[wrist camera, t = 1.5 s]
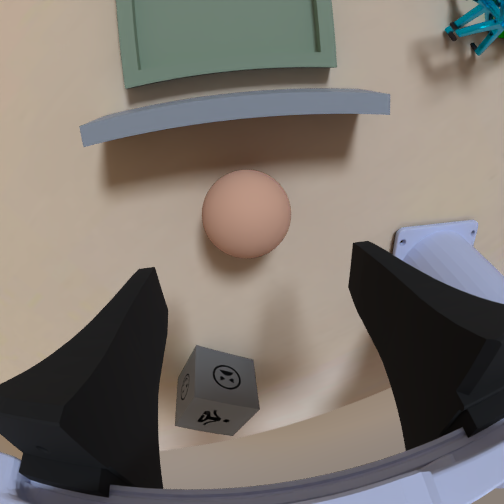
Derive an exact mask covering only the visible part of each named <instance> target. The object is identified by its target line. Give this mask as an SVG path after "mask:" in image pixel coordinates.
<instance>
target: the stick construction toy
mask: <svg viewBox="0 0 504 504" xmlns="http://www.w3.org/2000/svg"><path fill="white" fill-rule="evenodd" d="M473 1H475V2H477V3H478V4H479V5H478V6H476V7H475V8H473V9H472V10H470V11H469V12H468V13H466V14H465V15H463V16H462V17H461V18H459V19H458V20H456V21H455V22H451V23H450V25H449V26H448V27H447V28H445V31H446V33H447V34H448V35H449V37H450V38H451V39H452V41H456V40H457V38H456V36H455V35H454V34H453V32H454V31H455V33H456V34H457V35H458V37H463V36H467V35H471V34H476V33H480V32H484V31H488V32H489V34H488V35H487V36H486V37H485V39H484V40H483V41H482V42H481V44H480V45H479V46H478V47H477V46H476V45H475V43H471V44H470V45H471V47H472V48H473V50H474V51H475V53H476V54H477V55H478V56H479V55H481V54H482V53H483V52H484V51H485V50H486V49H487V47H488V46H489V45H490V44H491V43H492V42H493V41H494V40H495V39H496V38H497V37H499V38H504V0H473ZM499 7H500V9H499ZM483 13H485V22H482V23H478V24H474V25H471V26H468V27H464V28H461V27H462V26H464V25H465V24H467V23H468V22H470V21H472V20H473V19H475V18H477V17H478V16H480V15H481V14H483ZM493 18H495V19H493ZM459 28H461V29H459Z"/></svg>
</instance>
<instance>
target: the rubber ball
mask: <svg viewBox="0 0 504 504" xmlns="http://www.w3.org/2000/svg"><path fill="white" fill-rule="evenodd" d="M202 220H203V225H204V228H205V231H206V233H207V235H208V237H209V239H210V240H211V241H212V243H213V244H214V245H215V246H216V247H217V248H219V249H220V250H221V251H223V252H225V253H226V254H228V255H231V256H234V257H238V258H255V257H259V256H262V255H265V254H267V253H269V252H270V251H272V250H273V249H275V248H276V247H277V246H278V245H279V244H280V243H281V241H282V240H283V239H284V237H285V236H286V234H287V232H288V229H289V226H290V221H291V206H290V202H289V199H288V197H287V194H286V192H285V191H284V189H283V188H282V187H281V185H280V184H279V183H278V182H277V181H276V180H275V179H273V178H272V177H270V176H269V175H267V174H265V173H262V172H260V171H255V170H238V171H234V172H231V173H228V174H226V175H224V176H223V177H221V178H220V179H219V180H217V181H216V182H215V183H214V184H213V185H212V187H211V188H210V189H209V191H208V193H207V195H206V197H205V200H204V203H203V208H202Z"/></svg>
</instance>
